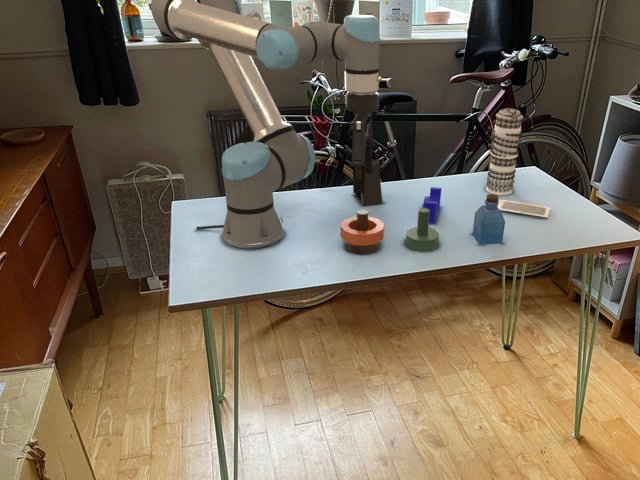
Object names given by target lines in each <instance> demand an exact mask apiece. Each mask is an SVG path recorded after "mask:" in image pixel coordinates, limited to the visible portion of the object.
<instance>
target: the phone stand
mask: <svg viewBox="0 0 640 480" xmlns="http://www.w3.org/2000/svg"><path fill="white" fill-rule="evenodd" d="M380 163H381V162H380V160H379V159H372V173H365V193H353V195H354V197H355V198H356V199H357V200H358V201H359V203H360V204H361V205H362V206H371V205H379V204H383V194H382V184H381V183H382V182H381V173H380V172H381V171H380V169H381V168H380V167H381V166H380V165H381V164H380Z"/></svg>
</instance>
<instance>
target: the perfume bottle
mask: <svg viewBox="0 0 640 480" xmlns="http://www.w3.org/2000/svg"><path fill="white" fill-rule="evenodd" d="M485 198H486V199H484V205H480V206H479V207H478V209H477V210H476V211H475V212H474V216H473V217H474V219H473V224H472V225H473V227H472V235H473V237H474V239H475V240H476V242H477V243H478V245H498V244H503V239H504V233H505V227H506V220H505V218H504V215H503V213H502V210H499V208H498V207H497V206H498V204H499V201H500V200H499V198H500V195H496V194H492V193H488V194H486V196H485Z"/></svg>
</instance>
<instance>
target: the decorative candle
mask: <svg viewBox="0 0 640 480" xmlns="http://www.w3.org/2000/svg"><path fill="white" fill-rule="evenodd" d="M495 116H496V117H495V124H494V129H493V130H492V131H491V137H490V140H491V143H490V149H489V151H490V155H491V157H490V161H489V167H488V169H487V177H486V184H485V186H486V187H485V190H486V192H488V193H489V194H495V195H498V196H508V195H510V194H512V193H513V190H514V189H513V188H514V183H515V179H514V178H516V173H517V170H516V160H517V157H519V153H520V152H519V150H518V149H519V148H521V145H520V143H521V142H522V140H521V137H523V133H522V131H523V129H522V119H523V118H524V115H523V114H521V112H520V110H518V109H516V108H508V107H507V108H501V109H500V110H499V111H498V112H497V113H495ZM519 137H520V138H519Z"/></svg>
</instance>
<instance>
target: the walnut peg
mask: <svg viewBox="0 0 640 480" xmlns="http://www.w3.org/2000/svg"><path fill="white" fill-rule="evenodd" d="M356 217H357V230H356V231H369V230H368V217H369V211H368V210H365V209H360V210H357V211H356ZM345 248H346V250H347V251H349V252H351V253H353V254H359V255H368V254H372V253H375V252H377V250H379V248H380V242H378V243H377V244H372V245H366V246H361V245H352V244H350V243H347V242H345Z"/></svg>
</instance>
